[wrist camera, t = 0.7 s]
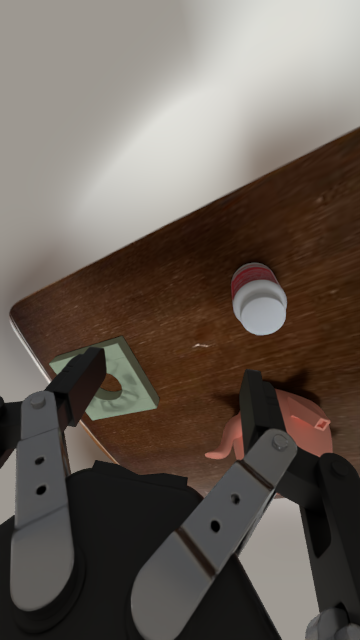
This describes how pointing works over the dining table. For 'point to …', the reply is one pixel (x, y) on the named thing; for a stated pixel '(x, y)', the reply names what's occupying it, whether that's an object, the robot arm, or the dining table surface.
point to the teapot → (300, 423)
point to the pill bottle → (258, 299)
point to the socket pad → (130, 375)
